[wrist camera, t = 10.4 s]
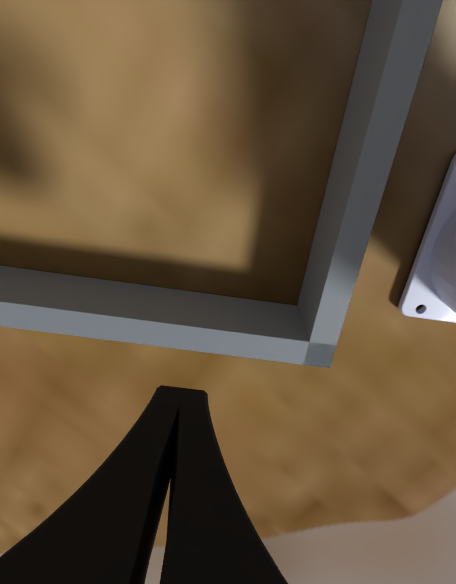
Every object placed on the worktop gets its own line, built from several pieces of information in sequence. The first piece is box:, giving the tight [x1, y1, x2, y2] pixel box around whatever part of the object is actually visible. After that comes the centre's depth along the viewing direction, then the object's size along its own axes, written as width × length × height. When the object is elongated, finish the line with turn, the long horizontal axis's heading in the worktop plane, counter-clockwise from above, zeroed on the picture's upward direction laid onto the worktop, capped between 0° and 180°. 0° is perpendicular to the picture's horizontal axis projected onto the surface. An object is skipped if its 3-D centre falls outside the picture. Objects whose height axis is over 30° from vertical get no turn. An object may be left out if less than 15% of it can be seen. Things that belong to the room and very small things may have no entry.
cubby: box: [0, 0, 443, 368], centre depth 14 cm, size 20×24×4 cm
